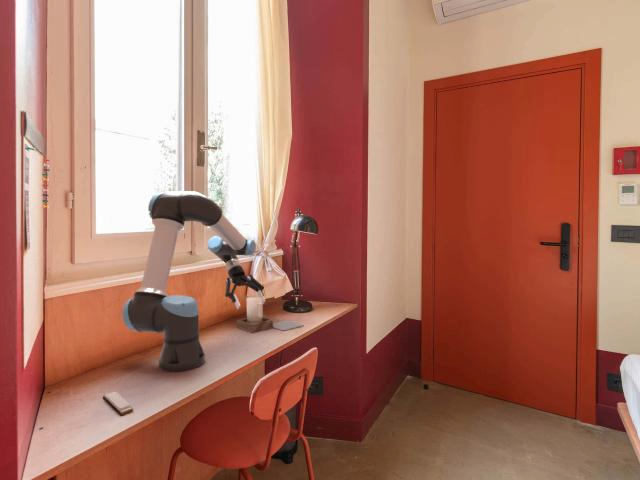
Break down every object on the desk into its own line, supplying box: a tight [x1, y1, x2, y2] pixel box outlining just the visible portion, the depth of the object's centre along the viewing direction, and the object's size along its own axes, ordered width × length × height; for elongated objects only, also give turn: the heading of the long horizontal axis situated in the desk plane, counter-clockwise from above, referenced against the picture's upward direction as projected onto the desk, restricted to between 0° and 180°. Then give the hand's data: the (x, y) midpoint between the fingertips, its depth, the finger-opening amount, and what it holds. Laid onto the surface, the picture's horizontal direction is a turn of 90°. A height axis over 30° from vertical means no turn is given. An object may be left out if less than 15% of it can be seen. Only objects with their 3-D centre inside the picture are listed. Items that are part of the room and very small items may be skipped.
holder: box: [236, 316, 274, 334], centre depth 176 cm, size 12×12×4 cm
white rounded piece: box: [245, 295, 264, 324], centre depth 175 cm, size 7×10×12 cm
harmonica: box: [102, 391, 134, 417], centre depth 105 cm, size 15×3×2 cm, turn 46°
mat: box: [272, 319, 304, 332], centre depth 178 cm, size 12×12×1 cm
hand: (251, 305), depth 178 cm, fingers open, 13 cm apart
